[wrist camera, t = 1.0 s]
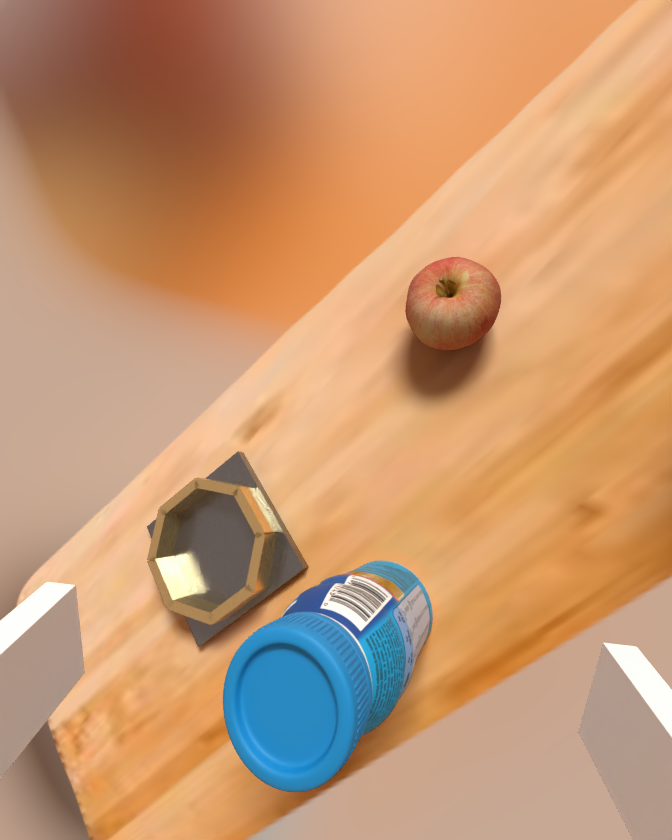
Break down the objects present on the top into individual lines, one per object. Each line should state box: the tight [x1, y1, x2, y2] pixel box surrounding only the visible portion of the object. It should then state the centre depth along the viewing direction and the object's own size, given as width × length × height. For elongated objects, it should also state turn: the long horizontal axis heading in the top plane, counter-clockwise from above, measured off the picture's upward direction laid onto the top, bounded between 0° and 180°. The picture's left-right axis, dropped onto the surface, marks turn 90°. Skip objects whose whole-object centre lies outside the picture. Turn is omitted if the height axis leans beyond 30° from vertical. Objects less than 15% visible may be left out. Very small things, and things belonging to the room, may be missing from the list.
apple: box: [406, 257, 501, 350], centre depth 36 cm, size 8×8×8 cm
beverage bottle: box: [223, 561, 433, 792], centre depth 27 cm, size 8×8×20 cm
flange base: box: [147, 452, 308, 646], centre depth 42 cm, size 14×14×4 cm
